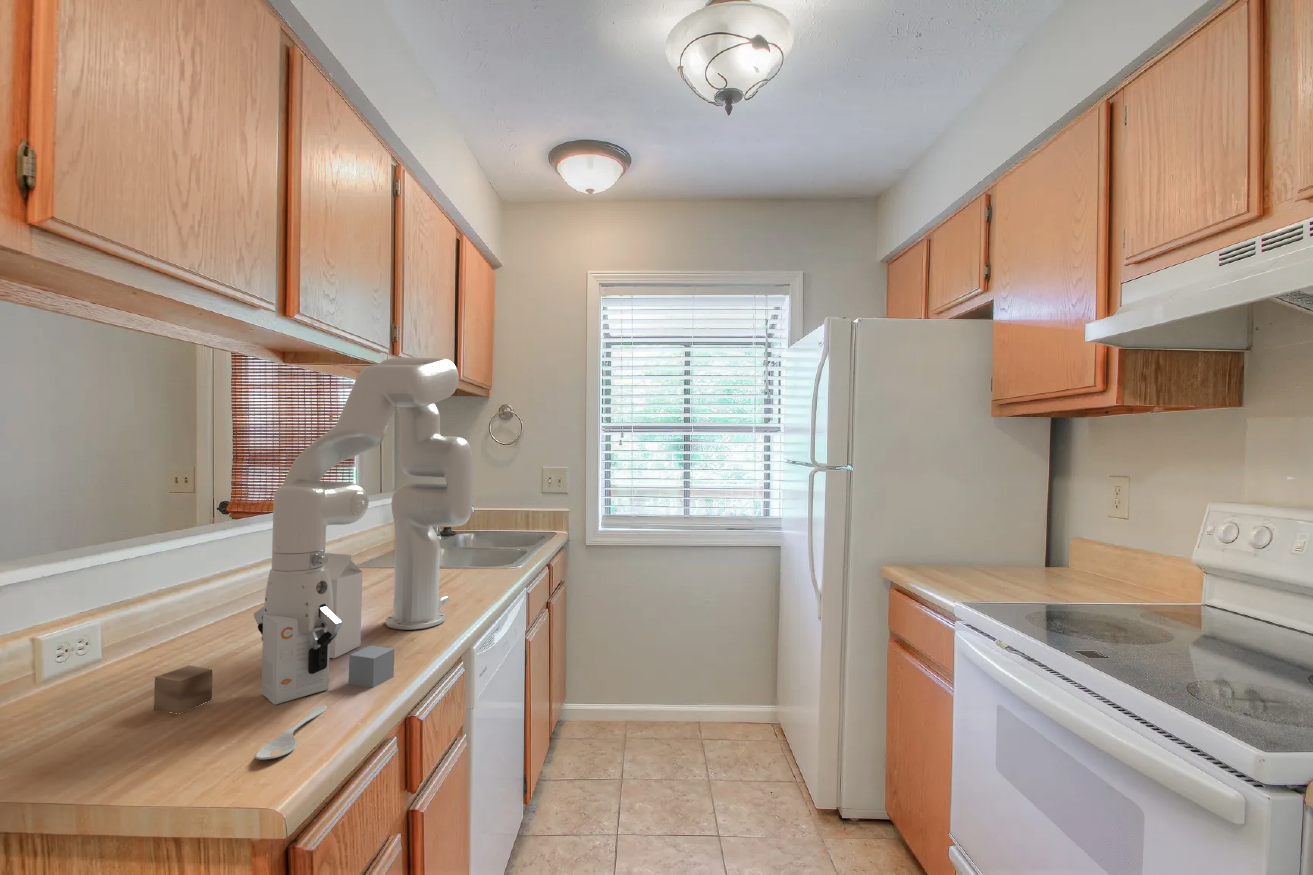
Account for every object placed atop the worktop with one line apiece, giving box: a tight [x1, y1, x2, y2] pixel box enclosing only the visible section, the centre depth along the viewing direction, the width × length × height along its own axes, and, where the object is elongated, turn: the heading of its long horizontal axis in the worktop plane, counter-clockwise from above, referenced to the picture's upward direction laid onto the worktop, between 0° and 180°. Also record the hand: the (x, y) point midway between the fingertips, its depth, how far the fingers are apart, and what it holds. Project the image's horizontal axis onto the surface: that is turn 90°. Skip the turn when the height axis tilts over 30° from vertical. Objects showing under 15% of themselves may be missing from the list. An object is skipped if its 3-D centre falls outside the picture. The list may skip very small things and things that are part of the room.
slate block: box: [348, 645, 395, 688], centre depth 103 cm, size 5×5×5 cm
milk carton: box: [325, 552, 363, 659], centre depth 116 cm, size 7×7×19 cm
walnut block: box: [153, 665, 213, 715], centre depth 92 cm, size 5×5×5 cm
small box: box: [261, 614, 330, 706], centre depth 98 cm, size 8×6×13 cm
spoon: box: [254, 704, 328, 761], centre depth 86 cm, size 4×21×2 cm, turn 6°
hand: (295, 667), depth 98 cm, fingers closed on small box, 8 cm apart
